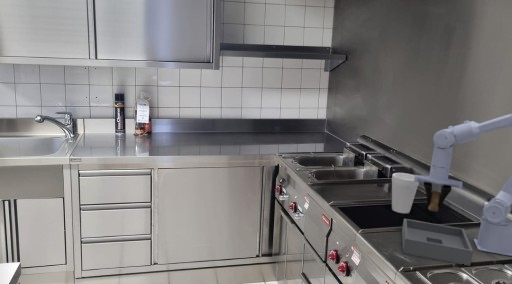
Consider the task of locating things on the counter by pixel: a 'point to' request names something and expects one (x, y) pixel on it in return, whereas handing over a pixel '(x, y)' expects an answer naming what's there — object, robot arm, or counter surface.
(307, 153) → the counter surface
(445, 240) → the box
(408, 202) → the foam cup
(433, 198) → the peg
